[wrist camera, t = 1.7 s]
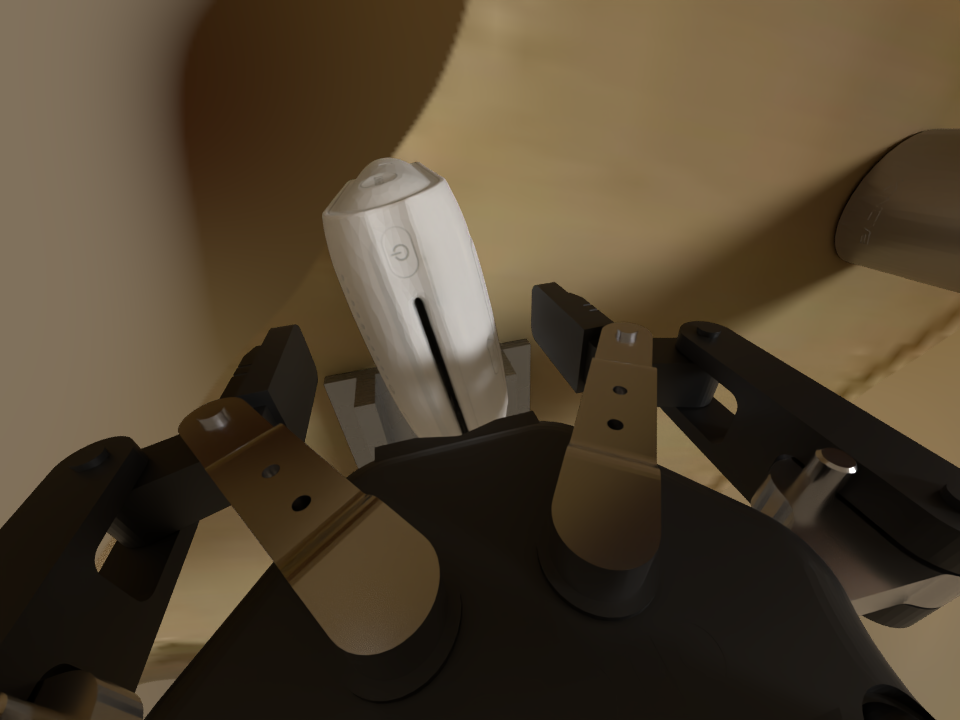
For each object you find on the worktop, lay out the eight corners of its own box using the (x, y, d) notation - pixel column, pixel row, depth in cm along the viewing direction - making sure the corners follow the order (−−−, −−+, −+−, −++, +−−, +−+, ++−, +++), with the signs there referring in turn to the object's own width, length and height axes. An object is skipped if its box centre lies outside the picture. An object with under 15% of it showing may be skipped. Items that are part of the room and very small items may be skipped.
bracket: (526, 338, 25) (547, 367, 22) (525, 491, 35) (539, 525, 32) (325, 377, 23) (316, 415, 20) (386, 528, 33) (386, 569, 30)
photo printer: (335, 168, 17) (271, 218, 7) (419, 144, 17) (476, 160, 7) (406, 340, 23) (427, 503, 13) (468, 320, 23) (536, 464, 13)
